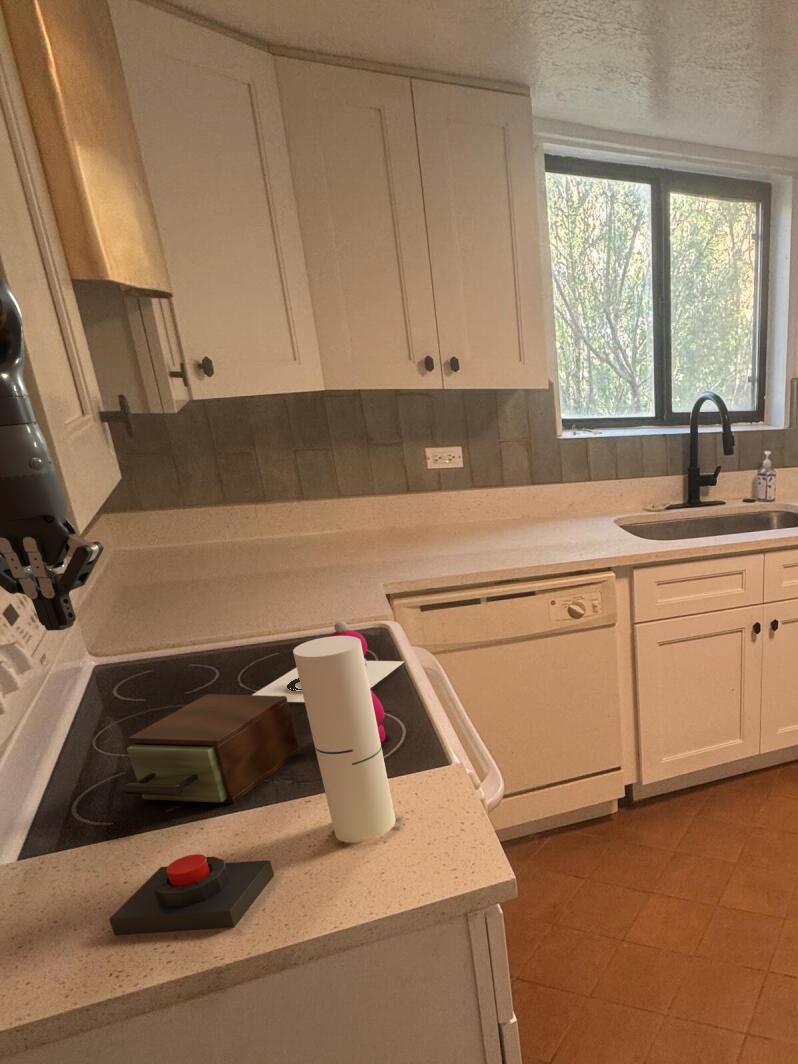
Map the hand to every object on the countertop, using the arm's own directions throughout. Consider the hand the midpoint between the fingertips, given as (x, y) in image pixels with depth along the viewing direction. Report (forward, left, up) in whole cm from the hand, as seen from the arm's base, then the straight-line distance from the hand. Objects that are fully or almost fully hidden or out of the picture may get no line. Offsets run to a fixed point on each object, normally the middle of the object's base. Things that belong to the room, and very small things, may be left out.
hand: (60, 628), depth 87 cm
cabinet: (+2, +18, -29) cm, 34 cm away
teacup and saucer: (+2, +54, -29) cm, 61 cm away
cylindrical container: (+27, +2, -29) cm, 40 cm away
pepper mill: (+18, +27, -29) cm, 44 cm away
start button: (+14, -12, -25) cm, 31 cm away
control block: (+14, -12, -29) cm, 34 cm away
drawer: (+1, +14, -28) cm, 32 cm away
